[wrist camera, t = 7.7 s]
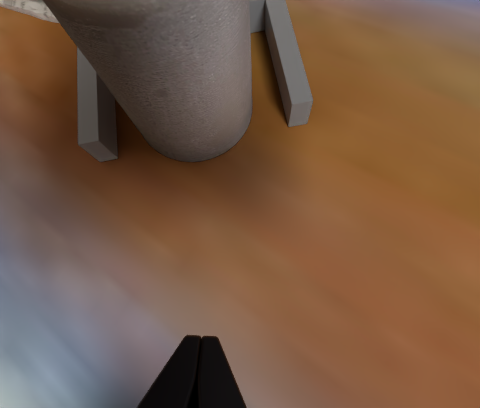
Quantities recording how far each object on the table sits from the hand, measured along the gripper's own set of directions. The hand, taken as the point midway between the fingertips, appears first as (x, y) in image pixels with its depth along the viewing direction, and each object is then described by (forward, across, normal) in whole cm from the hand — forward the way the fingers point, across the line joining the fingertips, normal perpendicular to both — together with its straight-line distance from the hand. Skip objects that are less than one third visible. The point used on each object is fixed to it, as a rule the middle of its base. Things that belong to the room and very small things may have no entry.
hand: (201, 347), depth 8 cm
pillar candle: (+20, +2, -4) cm, 21 cm away
